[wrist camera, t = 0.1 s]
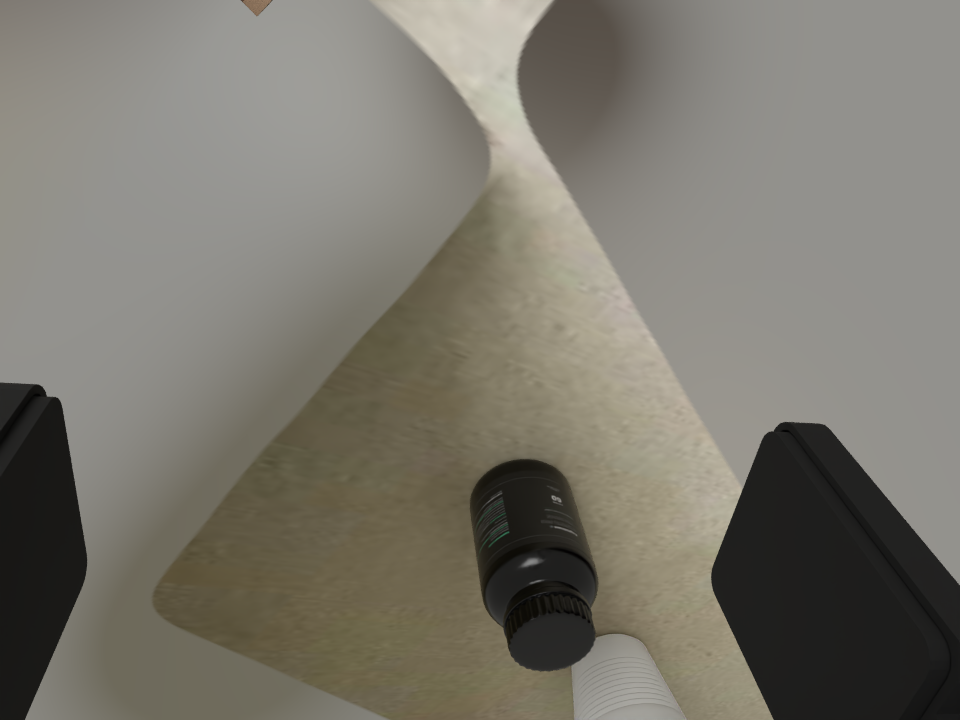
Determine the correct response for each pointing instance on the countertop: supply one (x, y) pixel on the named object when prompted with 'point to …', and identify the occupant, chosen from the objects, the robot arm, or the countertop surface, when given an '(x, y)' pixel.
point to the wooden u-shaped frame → (256, 5)
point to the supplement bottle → (534, 563)
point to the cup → (621, 683)
